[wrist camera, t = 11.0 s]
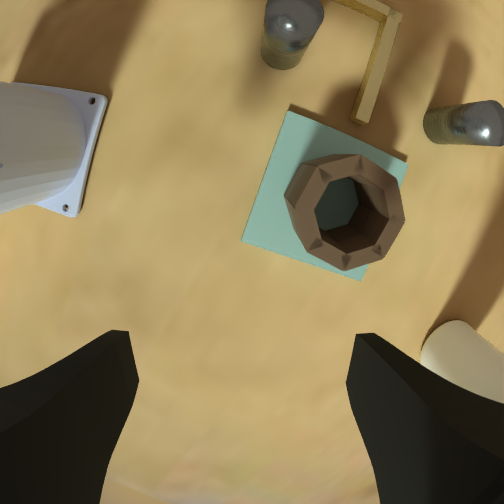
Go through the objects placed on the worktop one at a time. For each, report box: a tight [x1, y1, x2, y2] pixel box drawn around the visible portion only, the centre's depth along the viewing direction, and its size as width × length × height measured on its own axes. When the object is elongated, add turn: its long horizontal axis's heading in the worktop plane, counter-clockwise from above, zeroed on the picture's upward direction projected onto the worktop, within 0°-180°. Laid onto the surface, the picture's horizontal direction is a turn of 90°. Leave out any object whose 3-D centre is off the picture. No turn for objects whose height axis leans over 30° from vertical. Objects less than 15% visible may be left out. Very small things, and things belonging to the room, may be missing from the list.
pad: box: [241, 111, 408, 281], centre depth 18 cm, size 8×8×1 cm
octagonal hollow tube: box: [284, 154, 405, 271], centre depth 16 cm, size 5×5×4 cm
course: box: [261, 0, 504, 146], centre depth 12 cm, size 14×15×6 cm
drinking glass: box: [420, 320, 504, 403], centre depth 15 cm, size 7×7×15 cm
